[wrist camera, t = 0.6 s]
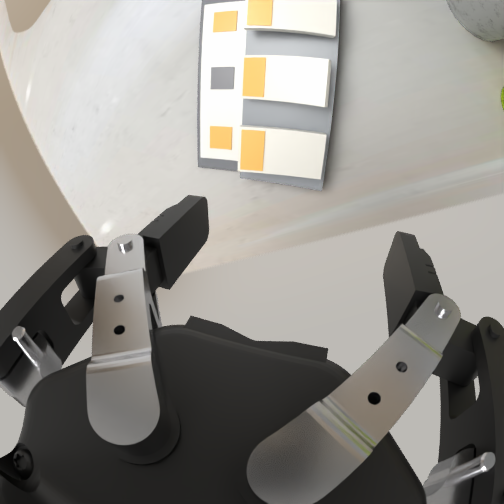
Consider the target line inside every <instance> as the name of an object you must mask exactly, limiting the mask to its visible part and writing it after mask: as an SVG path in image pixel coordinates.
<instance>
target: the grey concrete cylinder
mask: <svg viewBox="0 0 504 504" xmlns="http://www.w3.org/2000/svg"><path fill="white" fill-rule="evenodd" d="M447 3H448V5H449V7H450V9H451V11H452V13H453V14H454V16H455V18H456V19H457V20H458V21H459V22H460V24H461V25H462V26H463V27H464V28H465V29H466V30H468V31H469V32H470V33H472V34H473V35H474V36H476V37H478V38H480V39H482V40H485V41H491V42H493V41H497V40H499V39H504V0H447Z"/></svg>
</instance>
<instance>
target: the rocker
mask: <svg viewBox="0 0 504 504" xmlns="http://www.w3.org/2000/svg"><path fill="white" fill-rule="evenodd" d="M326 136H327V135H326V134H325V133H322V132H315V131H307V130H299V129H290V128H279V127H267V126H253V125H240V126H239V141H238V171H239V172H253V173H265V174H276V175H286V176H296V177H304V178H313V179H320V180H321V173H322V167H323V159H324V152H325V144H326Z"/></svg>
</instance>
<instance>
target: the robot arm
mask: <svg viewBox="0 0 504 504" xmlns="http://www.w3.org/2000/svg"><path fill="white" fill-rule="evenodd" d="M208 234H209V221H208V204H207V199H206V198H205V197H201V196H193V195H188V196H187V197H185V198H184V199H183V200H182V201H181V202H180V203H178V204H176V205H174V206H172V207H170V208H167V209H166V210H165V211H164V212H162V213H161V214H160V216H158V217H157V218H155V219H154V221H152V222H151V223H150V224H149V225H147V226H146V227H145V228H144V229H143V230H142V231H141V232H140V233H138V234H126V235H122V236H119V237H117V238H115V239H114V240H112V241H111V242H110V244H109V245H108V247H95V244H94V241H93V238H92V237H91V236H88V235H82V236H78V237H75V238H73V239H71V240H70V241H69V242H67V243H66V244H65V245H64V246H63V247H62V248H60V249H59V250H58V251H57V252H56V253H55V254H54V255H53V256H52V257H51V258H50V259H49V260H48V261H47V262H46V263H44V265H42V267H40V268H39V269H38V270H37V271H36V272H35V273H34V274H33V275H32V276H31V277H30V279H28V280H27V282H26V283H25V284H24V285H23V286H22V287H21V288H20V289H19V290H18V291H17V292H16V293H15V294H14V296H13V297H12V298H11V299H10V300H9V301H8V302H7V303H6V305H5V306H4V307H3V308H2V309H1V310H0V387H1V388H2V389H3V390H4V391H5V392H6V393H7V394H8V395H10V396H12V397H13V398H14V399H15V400H16V401H18V402H19V403H20V404H21V405H22V406H24V407H26V409H25V417H24V422H23V427H22V431H21V434H20V437H19V441H18V443H17V445H16V446H15V448H14V449H13V450H12V451H11V452H10V453H9V454H7V455H5V456H3V457H2V458H0V504H504V328H503V327H502V325H501V324H500V323H499V322H498V321H497V320H495V319H493V318H491V317H483V318H482V319H481V320H480V321H479V323H478V324H477V326H476V325H474V324H472V323H470V322H467V321H465V320H463V319H461V313H460V310H459V308H458V306H457V305H456V303H455V302H454V301H453V300H451V299H450V298H448V297H447V296H445V295H443V291H442V288H441V285H440V282H439V279H438V277H437V275H436V271H435V268H434V265H433V263H432V260H431V258H430V256H429V255H428V254H427V253H426V252H425V251H424V250H423V249H420V248H419V245H418V242H417V240H416V237H415V235H412V234H408V233H403V232H399V231H397V232H396V234H395V237H394V239H393V242H392V246H391V248H390V251H389V254H388V257H387V260H386V263H385V266H384V273H383V279H384V287H385V296H386V305H387V316H388V329H389V338H388V340H387V341H386V342H385V343H384V344H383V345H382V346H381V347H380V348H379V349H378V350H377V351H376V352H375V353H374V354H373V355H372V356H371V357H370V358H369V359H368V360H367V361H366V362H365V363H364V364H363V365H362V366H361V367H360V368H359V369H358V370H356V371H355V372H354V373H353V374H352V375H350V374H349V373H348V372H347V371H346V370H345V369H343V368H342V367H341V366H339V365H337V364H335V363H334V362H332V361H330V360H328V359H327V353H328V348H323V347H317V346H312V345H307V344H302V343H297V342H280V341H279V342H276V341H254V340H252V339H249V338H247V337H245V336H243V335H241V334H239V333H238V332H235V331H234V330H232V329H230V328H228V327H226V326H224V325H222V324H218V323H214V322H211V321H208V320H204V319H201V318H197V317H194V316H190V318H189V320H188V322H187V323H186V325H170V326H164V327H162V323H161V317H160V312H159V305H158V299H157V294H156V289H157V288H158V287H162V288H165V289H169V290H170V288H171V287H172V286H173V284H174V283H175V282H176V280H177V279H178V278H179V276H180V275H181V274H182V272H183V271H184V270H185V268H186V267H187V266H188V265H189V263H190V262H191V261H192V259H193V258H194V257H195V255H196V254H197V253H198V252H199V250H200V249H201V248H202V246H203V245H204V244H205V242H206V241H207V238H208ZM73 279H75V281H76V283H77V286H78V288H79V291H78V292H77V293H76V294H75V295H74V296H73V298H72V299H71V300H70V301H69V302H68V304H67V305H66V306H65V307H64V306H63V304H62V302H61V294H62V291H63V290H64V289H65V288H66V287H67V285H68V284H69V283H70V282H71V281H72V280H73ZM92 322H93V335H92V357H89V358H87V359H85V360H82V361H80V362H78V363H75V364H73V365H70V366H68V367H66V368H63V369H61V368H62V365H63V364H64V362H65V361H66V359H67V358H68V356H69V355H70V353H71V352H72V350H73V349H74V347H75V346H76V345H77V343H78V342H79V340H80V339H81V337H82V336H83V335H84V333H85V332H86V331H87V329H88V328H89V327H90V325H91V324H92ZM431 374H434V375H436V376H439V377H440V393H441V426H440V427H441V428H440V446H439V459H438V464H436V466H434V467H433V469H432V470H431V472H430V474H429V476H428V479H427V480H426V481H425V482H424V485H423V486H422V484H421V482H420V480H419V479H418V477H417V476H416V474H415V472H414V471H413V469H412V467H411V466H410V464H409V463H408V461H407V459H406V458H405V456H404V455H403V453H402V451H401V450H400V448H399V447H398V445H397V443H396V442H395V440H394V439H393V437H392V435H391V434H390V432H389V430H390V429H391V428H392V427H393V426H394V424H395V423H396V422H397V421H398V420H399V418H400V417H401V415H403V413H404V412H405V411H406V409H407V408H408V407H409V406H410V404H411V403H412V402H413V400H414V399H415V397H416V396H417V395H418V393H419V392H420V390H421V389H422V388H423V386H424V385H425V383H426V382H427V380H428V378H429V377H430V376H431ZM477 376H478V378H479V385H480V392H479V396H478V399H477V401H476V396H475V387H474V379H475V378H476V377H477Z"/></svg>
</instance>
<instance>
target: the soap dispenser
mask: <svg viewBox="0 0 504 504" xmlns="http://www.w3.org/2000/svg"><path fill="white" fill-rule="evenodd" d="M501 102H502V107H503V110H504V87H503V89H502V93H501Z"/></svg>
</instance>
